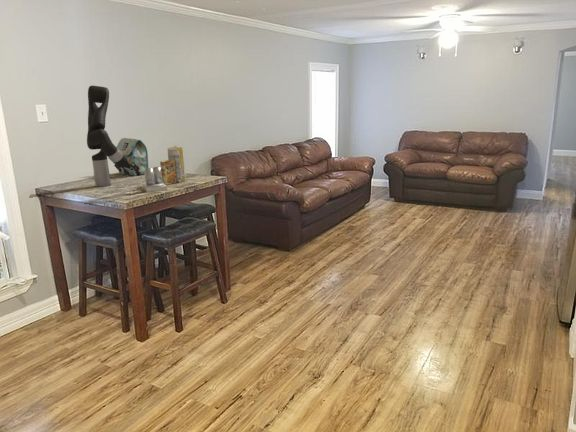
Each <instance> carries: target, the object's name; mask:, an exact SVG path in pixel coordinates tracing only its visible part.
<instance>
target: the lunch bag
mask: <svg viewBox="0 0 576 432" xmlns="http://www.w3.org/2000/svg"><path fill="white" fill-rule="evenodd" d="M116 147H117V148H118V149H119V150H120V151H121V152H122V153H123V154H124V155H125V156H126V157H127V159H128V162H129V163H132V162H134V163H135V164H136V165H137V166H138V167H139V170H138V171H139V172H140V173H141V175H143V174H144V175H145V173H144V170H145V169H148V168H149V155H148V148H147V146H146V145H145V143H144V142H143V141H142V139H137V138H127V137H122V138H120V139H119V141H118V143H117V145H116ZM119 169H120V168H119ZM130 169H132V167H131V168H130ZM133 170H134V169H133ZM127 171H128V172H129V173H130V175H129V176H138V175H137V174H136V173H135V172H133V171H130V170H127ZM118 174H120V175H126V174H125V173H123V172H122V171H121V172H120V171H119V170H118Z"/></svg>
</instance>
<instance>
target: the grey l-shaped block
mask: <svg viewBox="0 0 576 432" xmlns="http://www.w3.org/2000/svg"><path fill="white" fill-rule="evenodd" d="M144 173H145V170H144ZM144 173H143V174H144ZM153 176H154V171H153ZM144 181H145V183H143V184H141V185H142V189H143V190H144V191H145V192H146V193H153V192H160V191H161V192H162V191H167V190H168V187H167V185H165V184H164V183H161V184H155V180H154V185H152V186H147V181H146V173H145V174H144Z"/></svg>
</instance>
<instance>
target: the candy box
mask: <svg viewBox="0 0 576 432" xmlns="http://www.w3.org/2000/svg"><path fill="white" fill-rule="evenodd" d="M159 162H160V165H159V166H160V167H161V177H162V183H164V184H165V185H166V186H167V185H172V184H176V183H178V182H176V172H175V162H174V160H168V159H167V160H163V161H159Z"/></svg>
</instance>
